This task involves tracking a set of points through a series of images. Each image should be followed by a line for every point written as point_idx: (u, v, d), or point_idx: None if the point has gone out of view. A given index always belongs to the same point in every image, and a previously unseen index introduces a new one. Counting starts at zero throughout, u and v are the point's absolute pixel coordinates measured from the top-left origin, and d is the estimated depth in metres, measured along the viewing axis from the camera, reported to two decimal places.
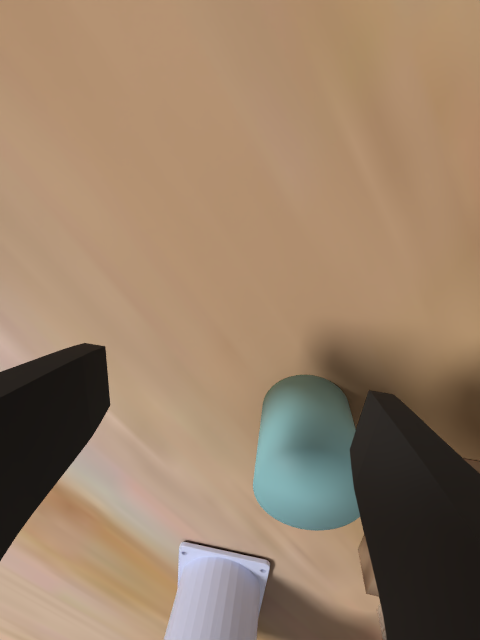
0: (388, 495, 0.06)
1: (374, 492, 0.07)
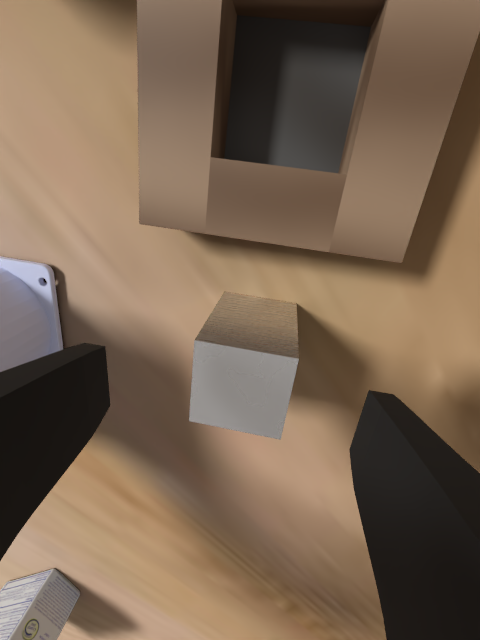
0: (388, 495, 0.06)
1: (374, 492, 0.07)
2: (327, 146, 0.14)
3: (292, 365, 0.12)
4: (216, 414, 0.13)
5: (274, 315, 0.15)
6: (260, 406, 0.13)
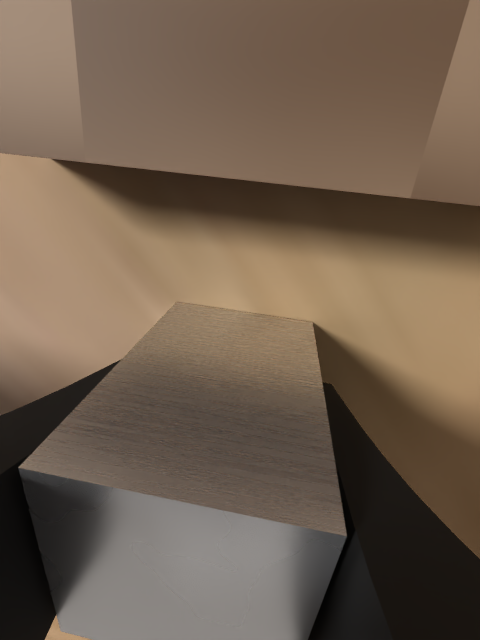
0: None
1: None
2: None
3: (324, 550, 0.04)
4: (122, 628, 0.05)
5: (270, 353, 0.07)
6: (233, 627, 0.05)
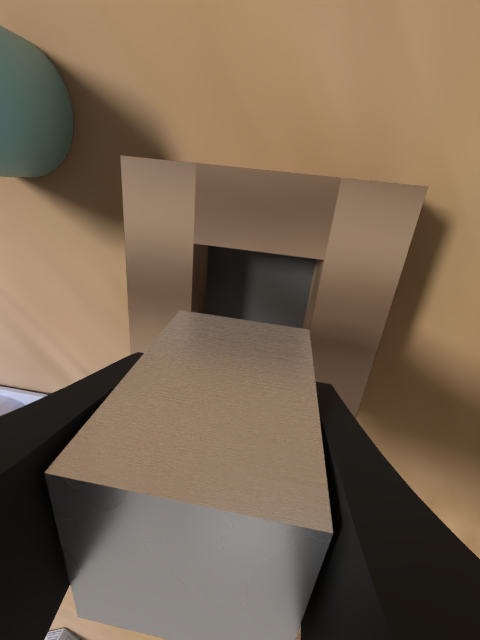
0: None
1: None
2: (289, 325, 0.16)
3: (314, 545, 0.04)
4: (134, 614, 0.06)
5: (268, 361, 0.08)
6: (233, 611, 0.05)
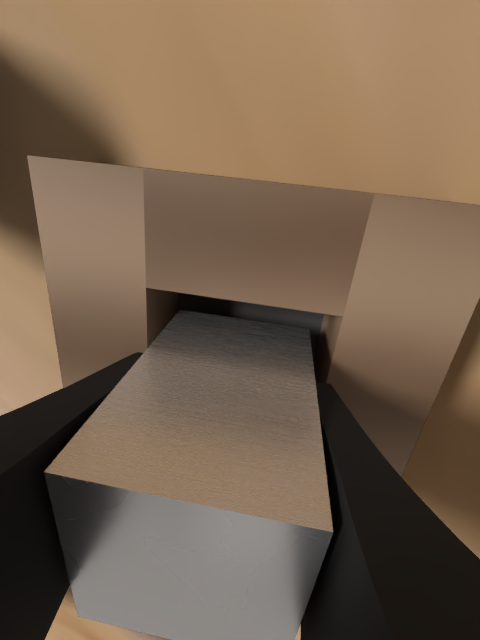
0: None
1: None
2: None
3: (314, 545, 0.04)
4: (133, 613, 0.06)
5: (268, 361, 0.08)
6: (233, 611, 0.05)
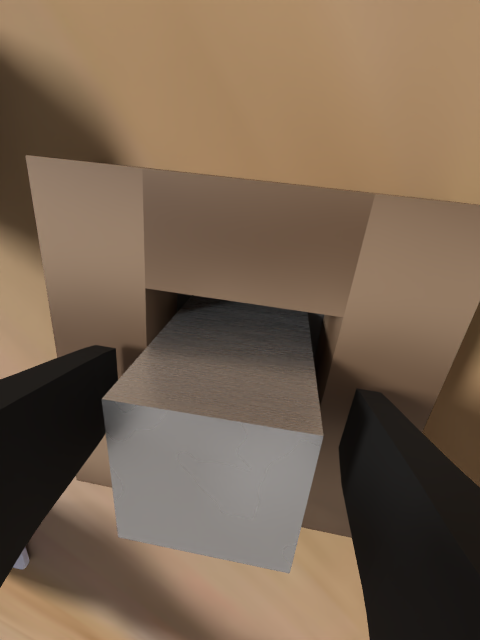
0: (372, 492, 0.06)
1: (360, 489, 0.07)
2: None
3: (309, 448, 0.06)
4: (165, 529, 0.07)
5: (272, 331, 0.09)
6: (247, 518, 0.07)
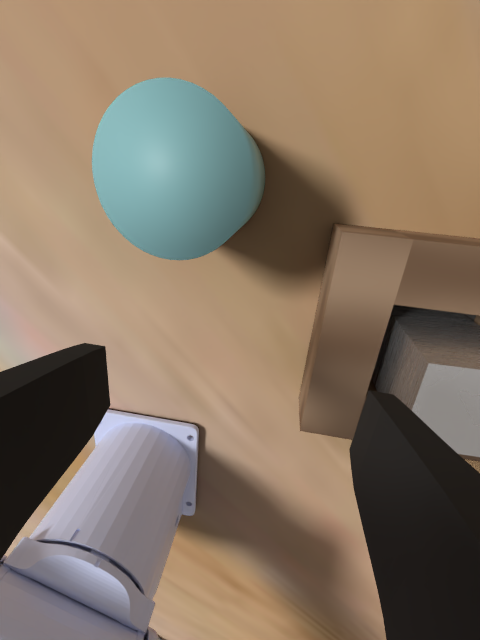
0: (388, 495, 0.06)
1: (374, 492, 0.07)
2: None
3: None
4: None
5: (461, 328, 0.15)
6: None
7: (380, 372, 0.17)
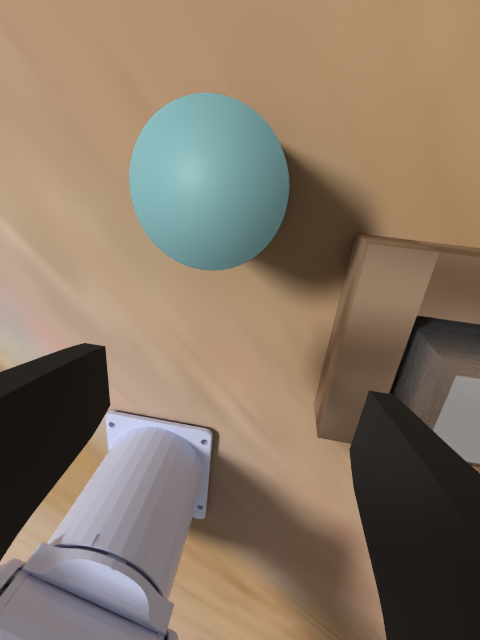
0: (388, 495, 0.06)
1: (374, 492, 0.07)
2: None
3: None
4: (457, 447, 0.13)
5: None
6: None
7: (399, 381, 0.17)
